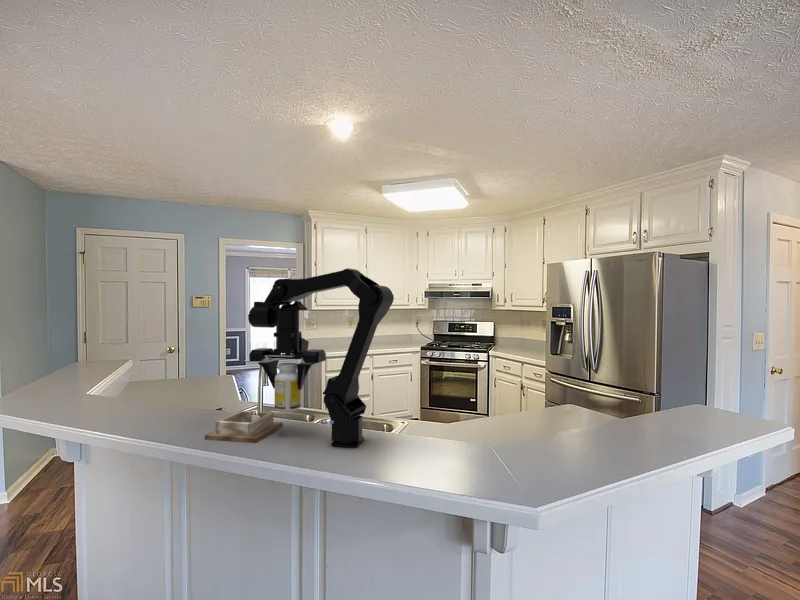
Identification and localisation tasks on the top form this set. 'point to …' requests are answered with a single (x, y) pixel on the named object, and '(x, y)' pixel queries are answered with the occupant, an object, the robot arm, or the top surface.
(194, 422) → the top surface
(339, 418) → the robot arm
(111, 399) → the top surface
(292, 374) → the pill bottle
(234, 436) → the pocket tray
